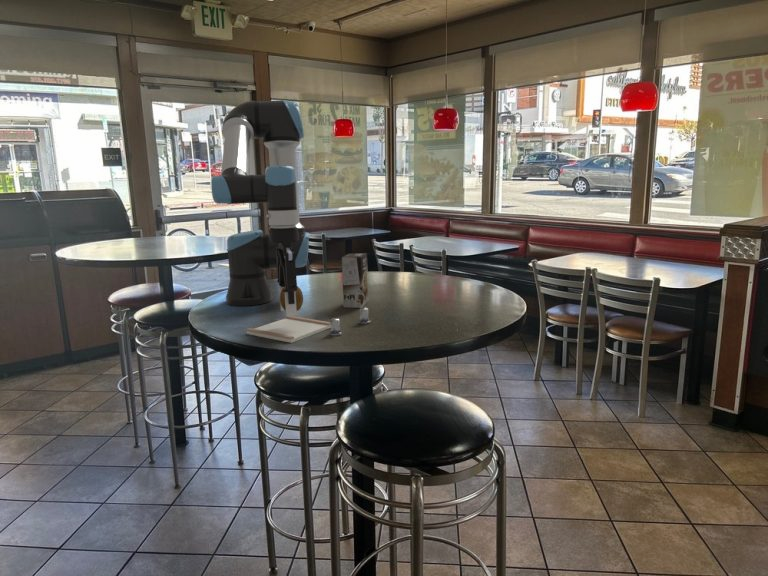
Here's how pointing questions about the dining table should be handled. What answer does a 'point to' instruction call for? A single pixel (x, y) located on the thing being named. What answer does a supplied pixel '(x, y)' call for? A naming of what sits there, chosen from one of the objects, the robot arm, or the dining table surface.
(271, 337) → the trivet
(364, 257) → the coffee box
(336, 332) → the pins
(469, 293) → the dining table surface
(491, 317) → the dining table surface
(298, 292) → the fruit
